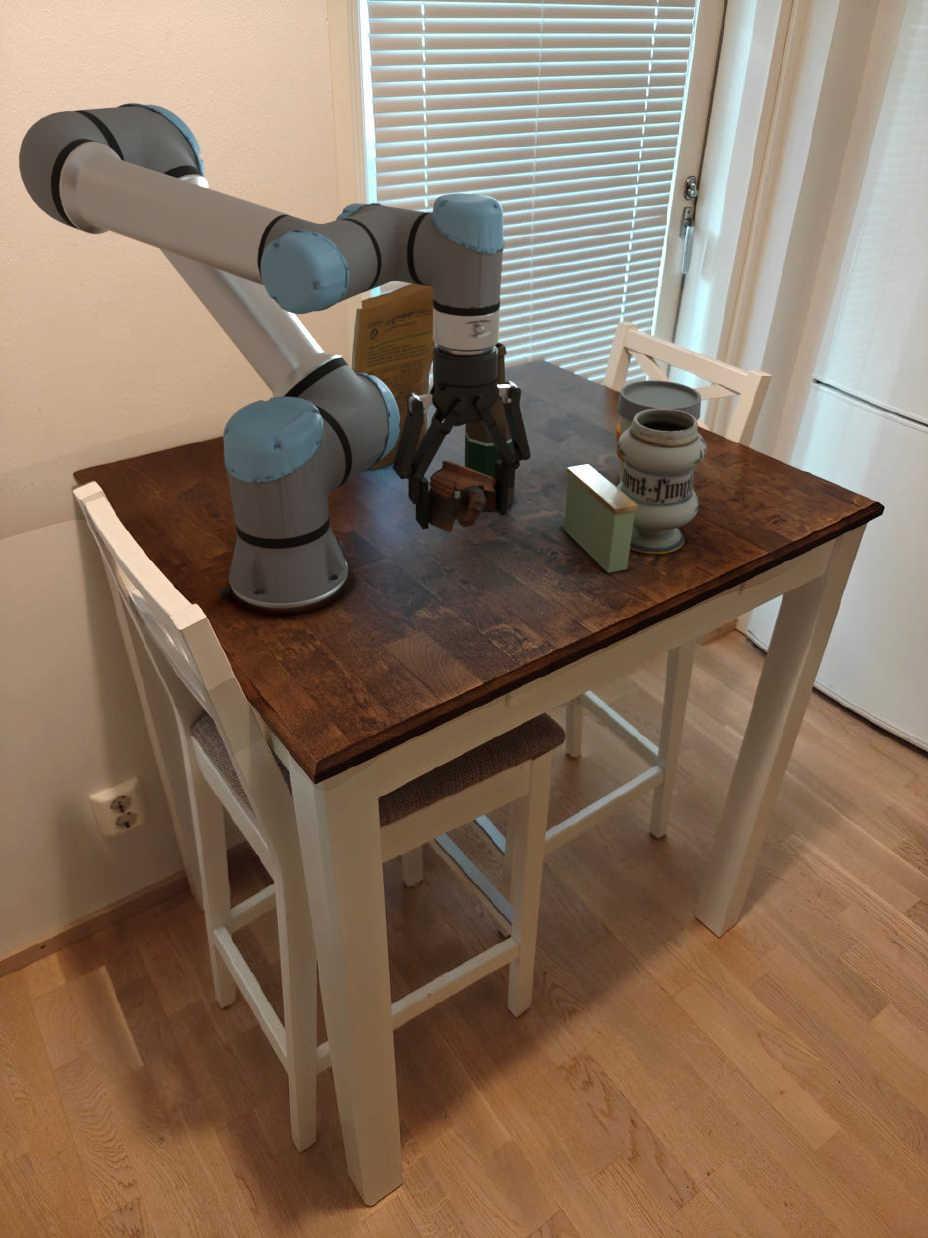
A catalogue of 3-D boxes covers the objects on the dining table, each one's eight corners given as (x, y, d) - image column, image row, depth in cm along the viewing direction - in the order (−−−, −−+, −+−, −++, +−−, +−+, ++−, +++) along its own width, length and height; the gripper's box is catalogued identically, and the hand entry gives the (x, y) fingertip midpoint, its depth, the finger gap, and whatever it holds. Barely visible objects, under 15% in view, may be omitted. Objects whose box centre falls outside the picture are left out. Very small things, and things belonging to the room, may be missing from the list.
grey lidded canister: (702, 497, 139) (718, 405, 130) (628, 506, 136) (640, 413, 127) (665, 464, 149) (678, 376, 140) (595, 472, 146) (605, 383, 137)
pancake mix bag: (453, 446, 153) (453, 278, 137) (367, 479, 142) (357, 300, 126) (426, 435, 157) (424, 270, 141) (341, 466, 146) (328, 291, 130)
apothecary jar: (591, 526, 130) (604, 409, 120) (660, 511, 134) (678, 397, 124) (636, 565, 121) (654, 442, 111) (709, 548, 125) (732, 428, 115)
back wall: (607, 574, 119) (615, 509, 114) (561, 529, 130) (567, 467, 124) (629, 569, 121) (638, 504, 115) (582, 525, 131) (588, 463, 125)
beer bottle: (509, 514, 133) (517, 355, 120) (459, 508, 134) (460, 351, 121) (517, 491, 140) (525, 338, 126) (469, 486, 141) (471, 334, 127)
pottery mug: (405, 512, 116) (426, 452, 115) (466, 532, 121) (486, 474, 119) (440, 532, 106) (464, 466, 105) (506, 553, 110) (529, 490, 109)
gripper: (380, 366, 95) (386, 546, 108) (569, 345, 102) (553, 516, 115) (360, 344, 100) (368, 518, 113) (540, 326, 108) (528, 491, 120)
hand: (461, 517), depth 114 cm, fingers closed on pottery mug, 10 cm apart
